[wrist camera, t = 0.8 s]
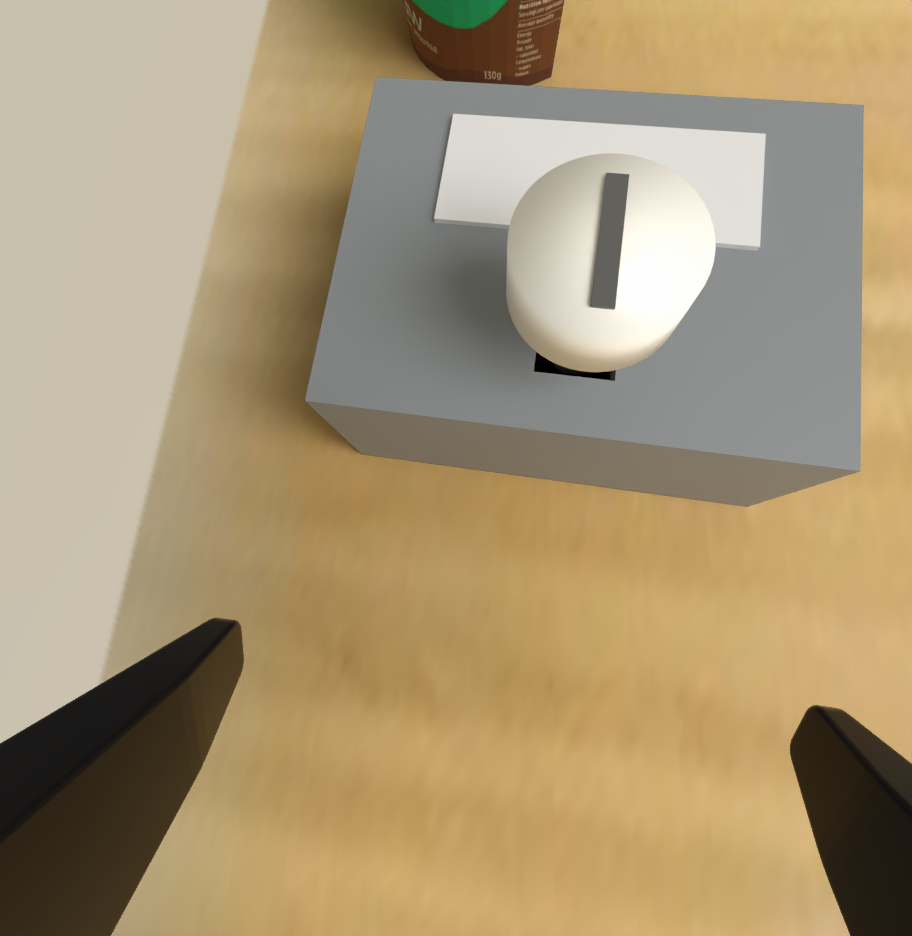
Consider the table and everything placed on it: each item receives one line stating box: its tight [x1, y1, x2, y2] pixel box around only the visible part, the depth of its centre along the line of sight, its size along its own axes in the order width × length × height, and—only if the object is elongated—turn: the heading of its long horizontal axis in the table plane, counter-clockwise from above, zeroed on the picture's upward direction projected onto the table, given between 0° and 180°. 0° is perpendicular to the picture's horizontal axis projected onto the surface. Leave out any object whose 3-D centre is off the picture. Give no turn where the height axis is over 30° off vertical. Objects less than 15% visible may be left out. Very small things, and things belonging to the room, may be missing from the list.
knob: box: [506, 153, 715, 376], centre depth 15 cm, size 4×4×6 cm
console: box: [305, 77, 864, 507], centre depth 20 cm, size 12×16×7 cm
